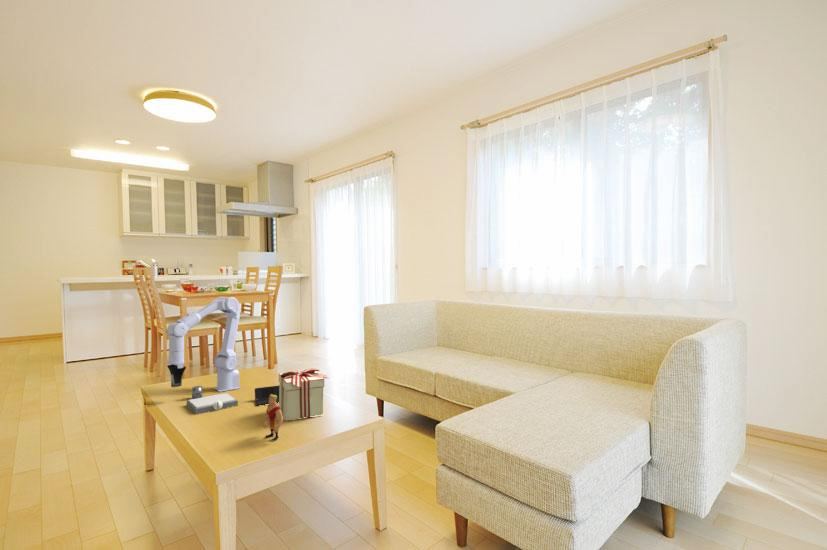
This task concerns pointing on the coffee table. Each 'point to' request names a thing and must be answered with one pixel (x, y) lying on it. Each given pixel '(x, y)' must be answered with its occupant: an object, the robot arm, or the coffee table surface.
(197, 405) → the white grey-edged panel
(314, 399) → the gift box
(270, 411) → the action figure
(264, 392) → the handheld gaming console
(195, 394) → the cylinder
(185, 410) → the coffee table surface
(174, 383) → the cylinder
